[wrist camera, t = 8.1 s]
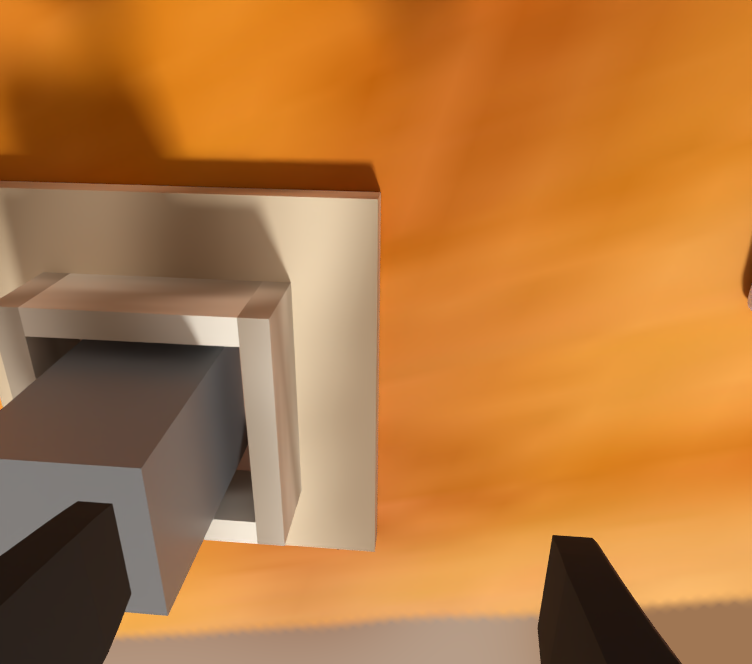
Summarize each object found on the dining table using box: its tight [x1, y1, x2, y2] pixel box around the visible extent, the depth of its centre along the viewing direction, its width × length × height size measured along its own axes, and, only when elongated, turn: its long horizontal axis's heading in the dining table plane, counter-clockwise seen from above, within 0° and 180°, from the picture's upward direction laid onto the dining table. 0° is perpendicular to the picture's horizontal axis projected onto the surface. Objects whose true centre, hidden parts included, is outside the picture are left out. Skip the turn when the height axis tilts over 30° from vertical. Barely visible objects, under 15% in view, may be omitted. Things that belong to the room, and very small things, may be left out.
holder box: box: [0, 181, 381, 552], centre depth 19 cm, size 12×12×3 cm
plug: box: [0, 339, 248, 616], centre depth 16 cm, size 4×4×6 cm
